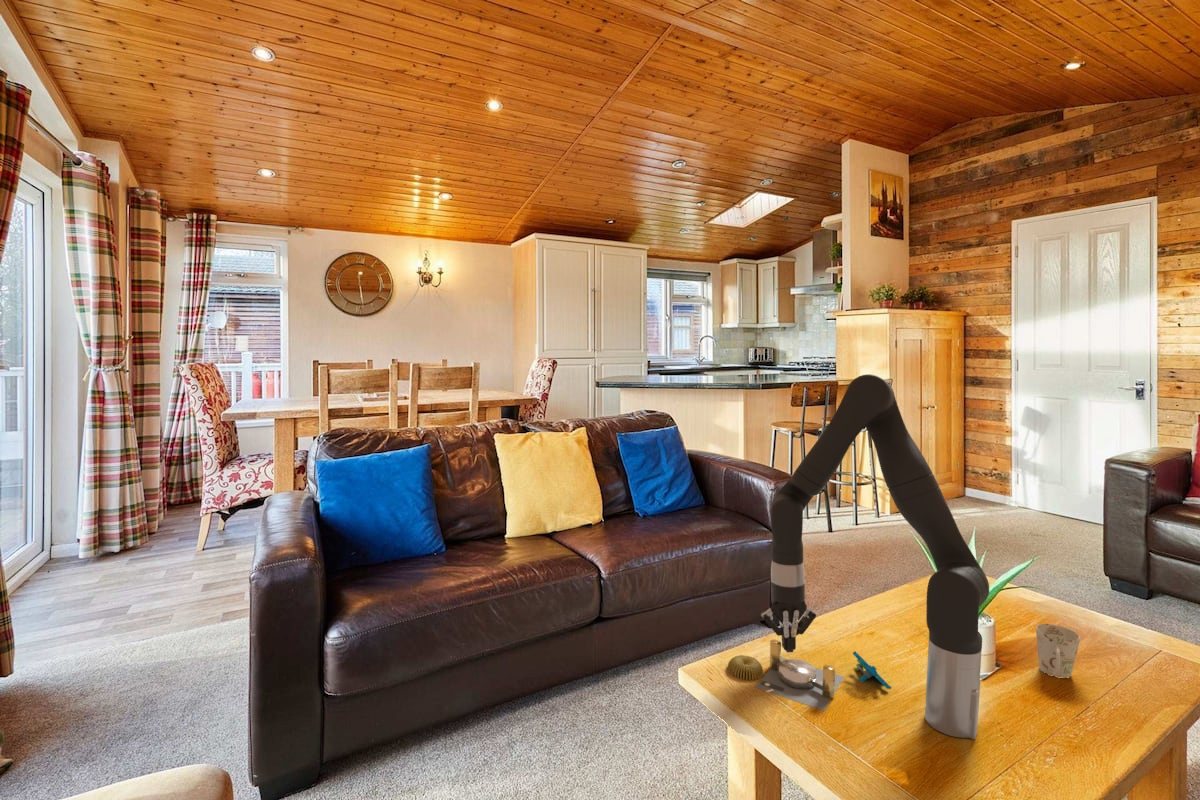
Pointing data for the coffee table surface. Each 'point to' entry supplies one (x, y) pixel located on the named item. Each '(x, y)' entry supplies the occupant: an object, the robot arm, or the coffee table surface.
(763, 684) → the board
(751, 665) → the sculpture
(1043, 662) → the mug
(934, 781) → the coffee table surface
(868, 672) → the gear
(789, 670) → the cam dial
